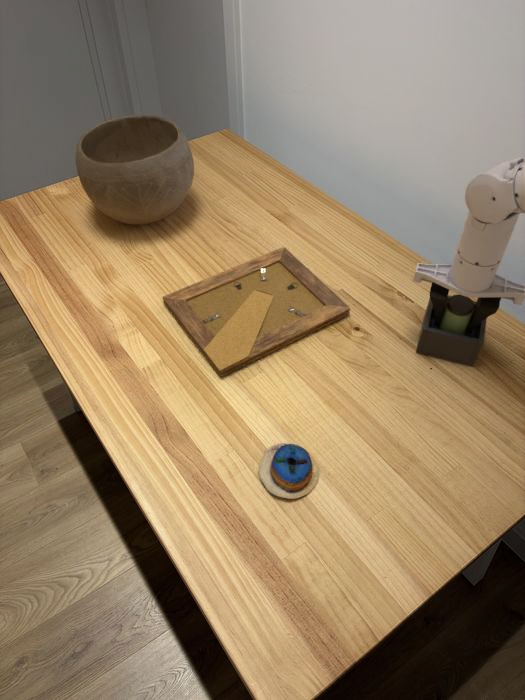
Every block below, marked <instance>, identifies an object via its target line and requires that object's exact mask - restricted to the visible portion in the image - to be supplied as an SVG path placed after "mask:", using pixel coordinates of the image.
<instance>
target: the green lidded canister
mask: <svg viewBox="0 0 525 700" xmlns="http://www.w3.org/2000/svg"><path fill="white" fill-rule="evenodd" d="M450 296H451V297H450V298H449V299H448V301H447V302H446V304H445V307H444V310H443V313H442V316H441V321H440V325H439V327H438V328H437V329H439V330H443V331H447V332H451V333H456V334H460V335H465V333H466V330H467V327H468V325H469V322H470V320H471V317H472V315H473V312H474V303H473V301H474V300H472V298H471V297H466V296H462V295H460V294H453V295H450Z"/></svg>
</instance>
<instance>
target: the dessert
mask: <svg viewBox="0 0 525 700" xmlns="http://www.w3.org/2000/svg"><path fill="white" fill-rule="evenodd" d="M319 476H320V469H319V465H318V463H317V461H316V459H315V458H314V456H313V455H312V454H311V452H309V451H308V450H307V449H305V448H304V447H303V446H300V445H297V444H294V443H287V442H283V443H282V442H280V443H277V444H274V445H272V446H270V447H269V448H266V449H265V450H264V454H263V458H262V460H261V462H260V464H259V467H258V477H259V479H260V481H261V483H262V484H263V486H264V487H265V489H266V490H267V492H269V493H270V494H272V495H274V496H276V497H279V498H283V499H287V500H291V499H293V500H295V499H298V498H302V497H303V496H306V495H308V494H310V493H311V492H312V491H313V490H314V489H315V488H316V486H317V484H318V482H319Z"/></svg>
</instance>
